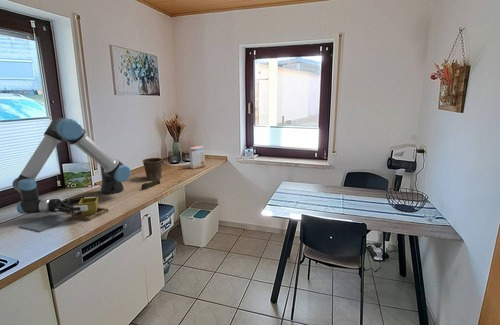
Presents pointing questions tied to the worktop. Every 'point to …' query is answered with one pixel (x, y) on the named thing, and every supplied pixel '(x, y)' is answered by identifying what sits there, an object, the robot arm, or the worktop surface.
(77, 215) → the square wooden frame
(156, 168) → the plant pot
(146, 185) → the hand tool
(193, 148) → the cracker box
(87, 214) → the flower pot
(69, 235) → the worktop surface
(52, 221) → the mat
